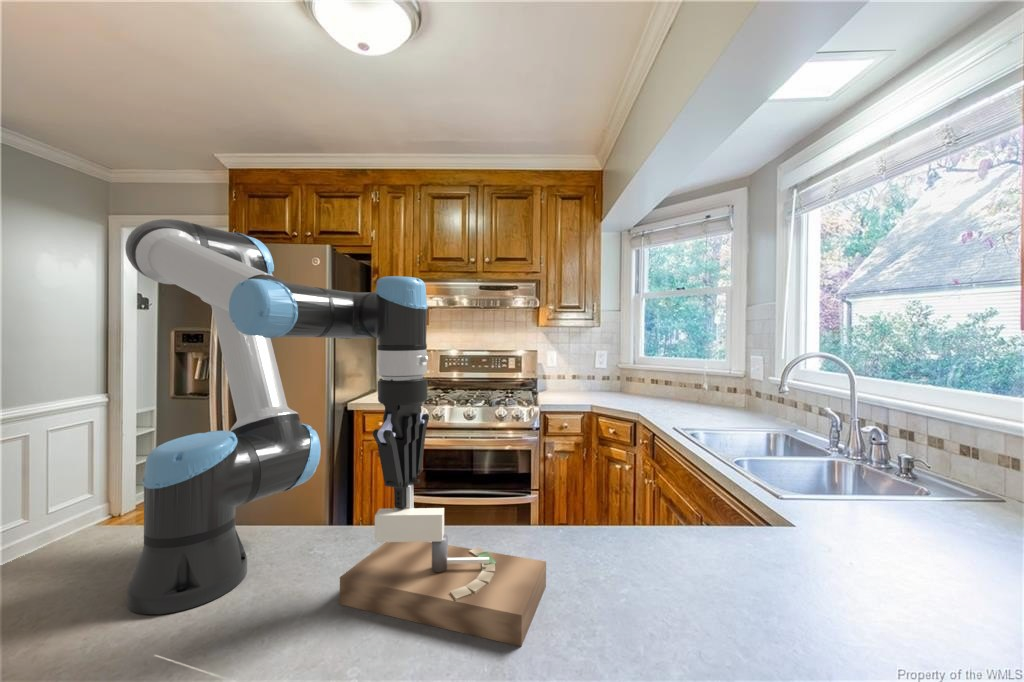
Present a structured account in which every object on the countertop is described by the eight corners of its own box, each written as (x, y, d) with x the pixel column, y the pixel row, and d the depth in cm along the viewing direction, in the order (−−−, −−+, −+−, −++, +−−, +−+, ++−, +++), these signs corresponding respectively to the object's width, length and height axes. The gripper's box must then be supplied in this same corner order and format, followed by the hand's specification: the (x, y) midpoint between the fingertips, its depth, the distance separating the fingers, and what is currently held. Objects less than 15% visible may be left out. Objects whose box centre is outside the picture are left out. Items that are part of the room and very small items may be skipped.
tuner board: (339, 604, 62) (339, 575, 62) (394, 557, 76) (395, 533, 76) (521, 646, 54) (521, 612, 54) (546, 584, 68) (546, 558, 68)
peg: (374, 573, 63) (374, 515, 63) (379, 564, 65) (379, 508, 65) (489, 571, 64) (489, 514, 64) (489, 562, 66) (489, 507, 66)
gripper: (402, 383, 59) (404, 549, 60) (442, 373, 71) (443, 511, 72) (356, 381, 61) (358, 541, 62) (403, 371, 73) (404, 506, 74)
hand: (404, 525), depth 67 cm, fingers closed
